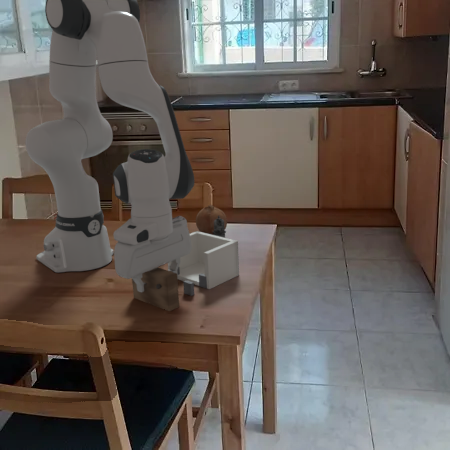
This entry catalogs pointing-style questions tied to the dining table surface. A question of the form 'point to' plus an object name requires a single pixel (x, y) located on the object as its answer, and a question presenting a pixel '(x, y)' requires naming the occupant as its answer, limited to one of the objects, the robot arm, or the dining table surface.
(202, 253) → the cabinet
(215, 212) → the onion
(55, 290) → the dining table surface
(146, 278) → the door
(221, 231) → the chess piece
